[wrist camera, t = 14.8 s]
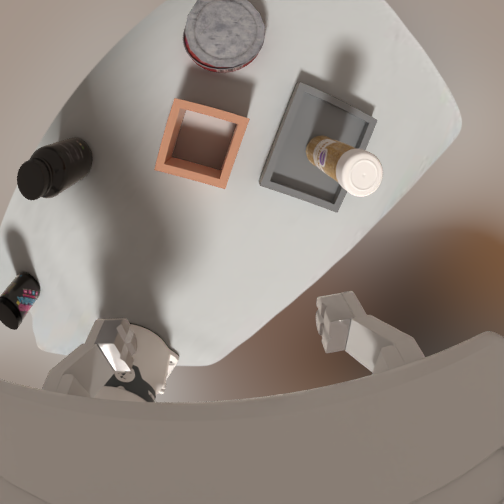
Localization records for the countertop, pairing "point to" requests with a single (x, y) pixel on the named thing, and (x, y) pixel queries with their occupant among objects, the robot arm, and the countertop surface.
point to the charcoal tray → (299, 135)
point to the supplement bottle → (54, 168)
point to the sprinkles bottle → (346, 165)
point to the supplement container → (18, 299)
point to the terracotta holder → (189, 168)
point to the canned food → (223, 34)
